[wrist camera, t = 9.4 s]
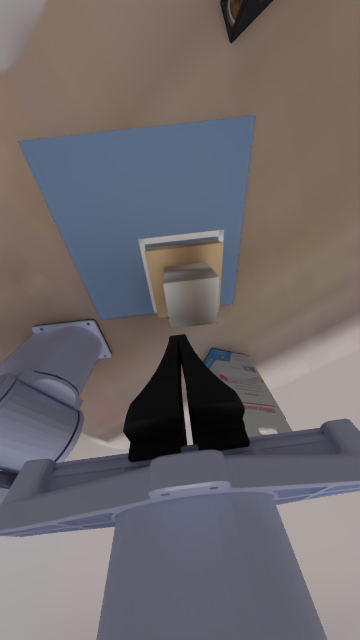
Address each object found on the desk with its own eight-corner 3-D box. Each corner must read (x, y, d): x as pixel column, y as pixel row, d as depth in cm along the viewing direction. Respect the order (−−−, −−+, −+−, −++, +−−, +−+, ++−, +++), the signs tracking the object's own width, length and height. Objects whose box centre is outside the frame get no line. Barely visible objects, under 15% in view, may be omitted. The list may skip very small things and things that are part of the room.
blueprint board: (101, 317, 23) (100, 319, 23) (22, 143, 13) (16, 140, 13) (232, 302, 23) (233, 304, 23) (252, 118, 13) (255, 114, 13)
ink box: (201, 364, 31) (223, 460, 19) (211, 347, 28) (245, 445, 16) (237, 370, 33) (278, 461, 21) (249, 355, 30) (305, 447, 18)
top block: (169, 304, 19) (170, 328, 15) (164, 266, 16) (163, 283, 12) (206, 299, 19) (216, 322, 15) (206, 262, 16) (219, 277, 12)
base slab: (159, 306, 22) (158, 317, 20) (147, 247, 18) (144, 251, 15) (213, 300, 22) (219, 310, 20) (215, 239, 18) (223, 242, 15)
